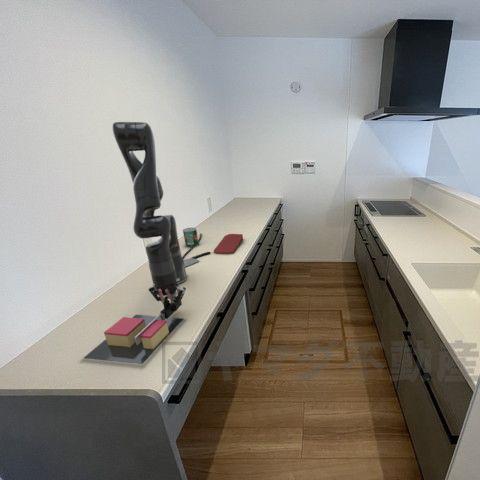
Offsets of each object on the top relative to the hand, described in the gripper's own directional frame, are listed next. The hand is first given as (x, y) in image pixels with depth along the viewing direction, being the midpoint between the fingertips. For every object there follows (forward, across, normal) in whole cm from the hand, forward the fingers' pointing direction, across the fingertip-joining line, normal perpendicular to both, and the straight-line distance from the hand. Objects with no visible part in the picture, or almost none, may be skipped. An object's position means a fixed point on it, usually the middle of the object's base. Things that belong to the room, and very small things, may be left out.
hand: (171, 309), depth 100 cm
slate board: (+4, +6, +11) cm, 13 cm away
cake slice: (+3, -2, +12) cm, 13 cm away
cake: (+3, +8, +12) cm, 15 cm away
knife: (0, 0, +7) cm, 7 cm away
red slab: (+5, +9, -74) cm, 74 cm away
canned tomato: (+6, +34, -72) cm, 80 cm away
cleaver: (+5, +22, -48) cm, 53 cm away
